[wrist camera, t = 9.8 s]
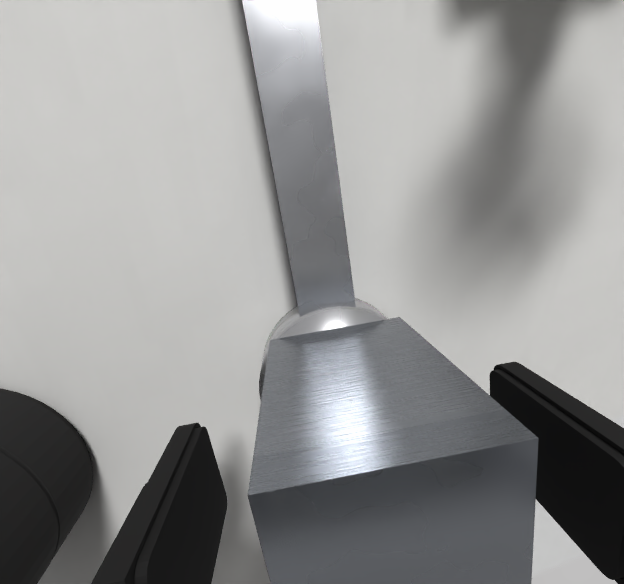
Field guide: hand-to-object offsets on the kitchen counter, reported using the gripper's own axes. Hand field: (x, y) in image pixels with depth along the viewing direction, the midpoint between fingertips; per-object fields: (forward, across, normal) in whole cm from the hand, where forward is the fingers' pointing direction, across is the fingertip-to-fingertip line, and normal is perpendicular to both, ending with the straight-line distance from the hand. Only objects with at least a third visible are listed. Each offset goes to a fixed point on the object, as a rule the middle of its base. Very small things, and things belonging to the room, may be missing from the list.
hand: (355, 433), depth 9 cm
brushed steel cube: (+3, 0, 0) cm, 3 cm away
